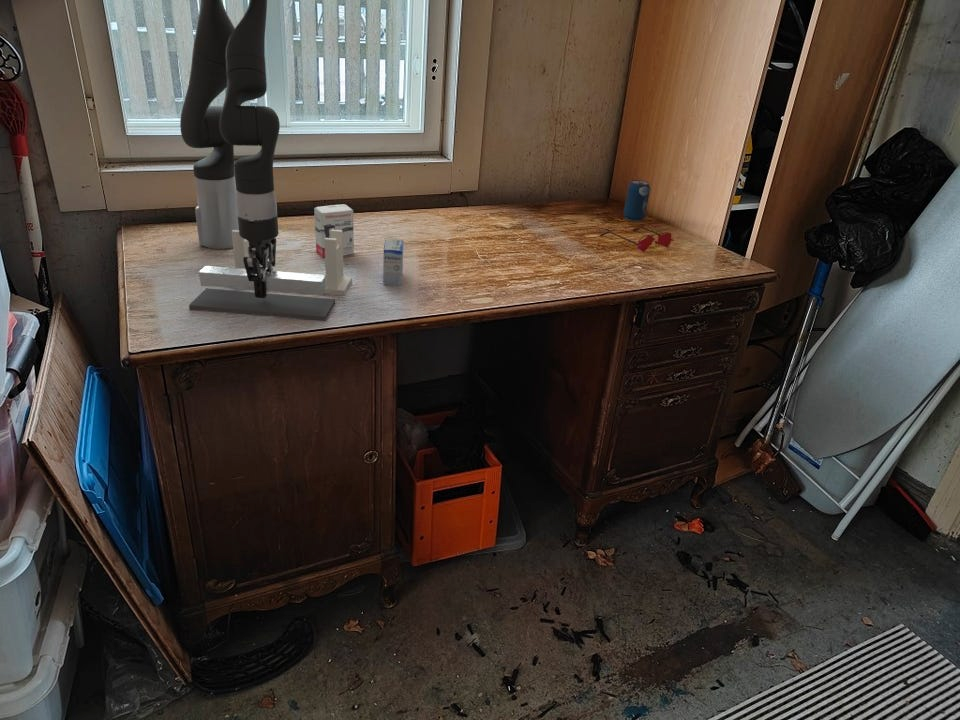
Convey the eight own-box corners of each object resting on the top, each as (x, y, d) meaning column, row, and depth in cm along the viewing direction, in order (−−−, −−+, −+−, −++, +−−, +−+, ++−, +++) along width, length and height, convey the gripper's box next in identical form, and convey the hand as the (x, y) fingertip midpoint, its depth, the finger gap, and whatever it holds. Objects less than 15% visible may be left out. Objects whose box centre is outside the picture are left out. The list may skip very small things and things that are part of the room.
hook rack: (228, 285, 153) (222, 231, 147) (240, 272, 160) (235, 220, 154) (344, 295, 153) (343, 241, 147) (351, 282, 160) (351, 230, 154)
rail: (200, 285, 141) (198, 271, 140) (207, 279, 144) (205, 265, 143) (321, 295, 141) (321, 281, 140) (326, 288, 144) (325, 275, 143)
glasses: (638, 254, 193) (641, 237, 191) (599, 236, 205) (601, 220, 203) (672, 248, 200) (676, 232, 198) (632, 231, 212) (635, 215, 210)
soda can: (646, 222, 220) (653, 185, 214) (624, 221, 220) (631, 183, 214) (642, 216, 226) (648, 180, 220) (621, 214, 226) (627, 178, 220)
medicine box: (384, 272, 166) (384, 238, 162) (402, 273, 167) (403, 239, 163) (382, 285, 160) (383, 249, 155) (402, 286, 160) (402, 250, 156)
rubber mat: (189, 309, 141) (188, 305, 140) (206, 292, 149) (206, 288, 148) (325, 321, 141) (325, 316, 140) (335, 303, 149) (335, 299, 148)
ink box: (323, 258, 172) (321, 212, 166) (315, 252, 175) (313, 206, 169) (354, 254, 176) (354, 209, 170) (346, 248, 179) (345, 203, 174)
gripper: (250, 201, 141) (257, 279, 150) (225, 221, 129) (234, 305, 137) (286, 204, 141) (291, 282, 150) (265, 225, 129) (271, 308, 137)
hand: (264, 293), depth 143 cm, fingers closed on rail, 3 cm apart
